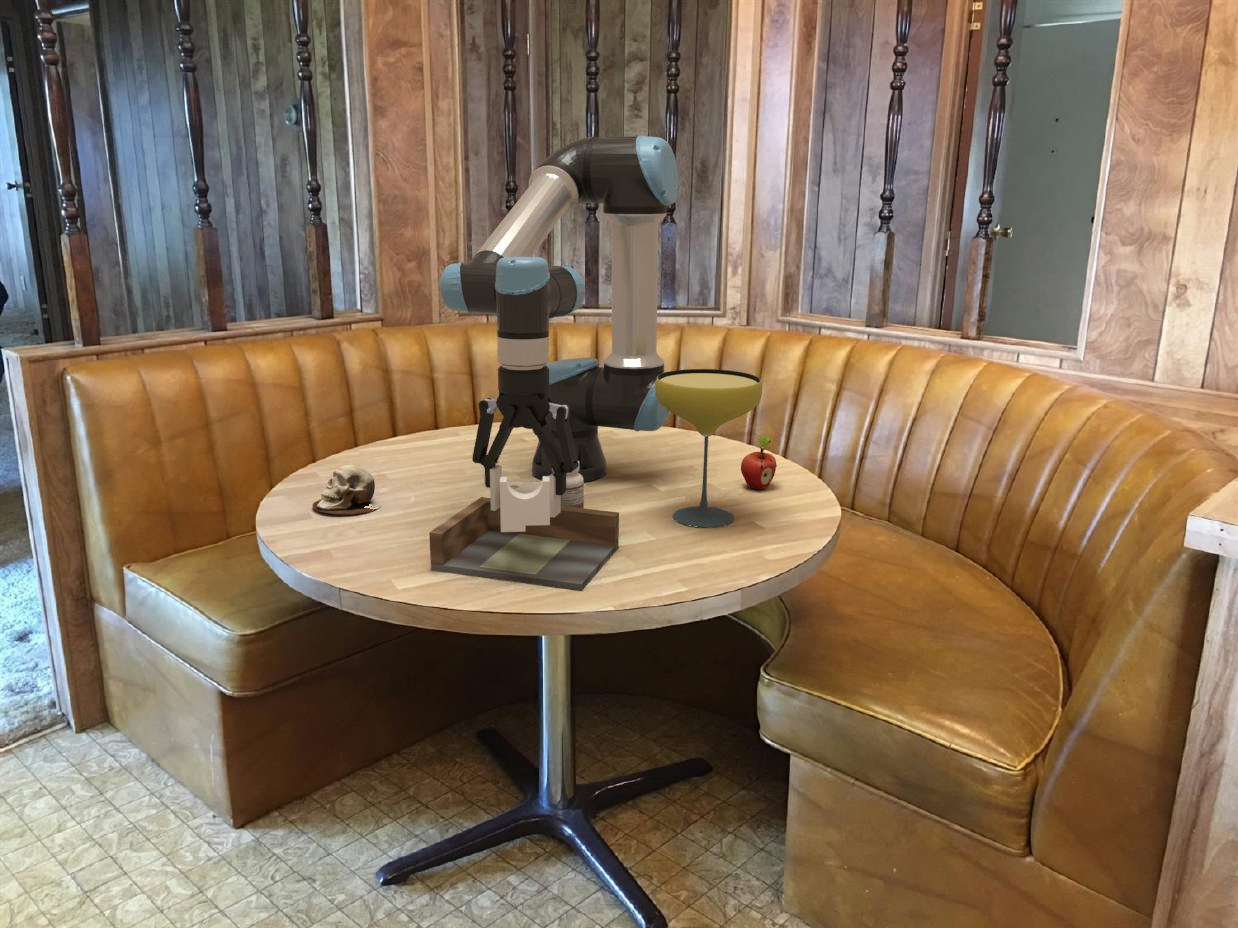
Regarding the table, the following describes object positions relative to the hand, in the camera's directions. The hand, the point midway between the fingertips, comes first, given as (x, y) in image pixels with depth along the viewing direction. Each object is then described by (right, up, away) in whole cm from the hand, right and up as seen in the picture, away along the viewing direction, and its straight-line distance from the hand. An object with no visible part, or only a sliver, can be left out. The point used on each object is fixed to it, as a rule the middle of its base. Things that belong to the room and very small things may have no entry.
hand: (525, 511), depth 142 cm
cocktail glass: (+29, -2, +22) cm, 37 cm away
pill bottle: (+5, -3, +18) cm, 19 cm away
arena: (0, -8, +3) cm, 8 cm away
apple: (+41, +2, +40) cm, 57 cm away
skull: (-35, -1, +26) cm, 43 cm away
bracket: (0, -1, -1) cm, 1 cm away
